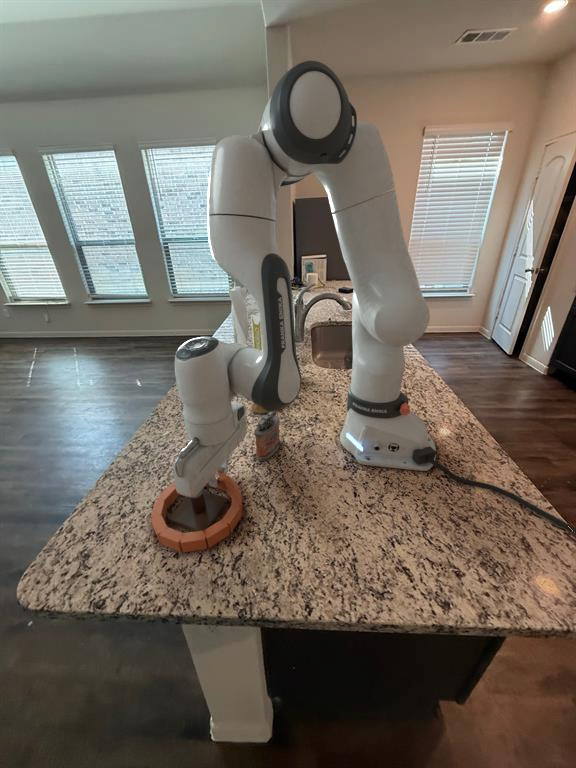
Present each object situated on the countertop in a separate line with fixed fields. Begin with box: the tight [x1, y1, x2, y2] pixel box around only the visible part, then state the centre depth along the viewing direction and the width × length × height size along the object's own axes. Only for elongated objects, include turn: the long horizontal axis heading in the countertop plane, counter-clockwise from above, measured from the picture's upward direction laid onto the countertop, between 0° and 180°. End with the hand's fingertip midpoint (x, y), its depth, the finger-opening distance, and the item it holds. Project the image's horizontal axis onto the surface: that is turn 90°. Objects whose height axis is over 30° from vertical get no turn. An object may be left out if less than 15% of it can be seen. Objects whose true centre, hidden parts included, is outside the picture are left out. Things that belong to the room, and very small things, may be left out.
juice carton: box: [250, 311, 263, 351], centre depth 120 cm, size 8×9×19 cm
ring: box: [150, 472, 243, 553], centre depth 59 cm, size 16×16×2 cm
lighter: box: [253, 411, 281, 462], centre depth 73 cm, size 8×3×10 cm, turn 148°
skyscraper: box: [227, 281, 250, 346], centre depth 130 cm, size 8×8×28 cm
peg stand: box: [167, 489, 229, 532], centre depth 59 cm, size 8×8×5 cm
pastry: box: [251, 403, 269, 415], centre depth 92 cm, size 9×7×4 cm
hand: (219, 479), depth 65 cm, fingers closed on ring, 2 cm apart
